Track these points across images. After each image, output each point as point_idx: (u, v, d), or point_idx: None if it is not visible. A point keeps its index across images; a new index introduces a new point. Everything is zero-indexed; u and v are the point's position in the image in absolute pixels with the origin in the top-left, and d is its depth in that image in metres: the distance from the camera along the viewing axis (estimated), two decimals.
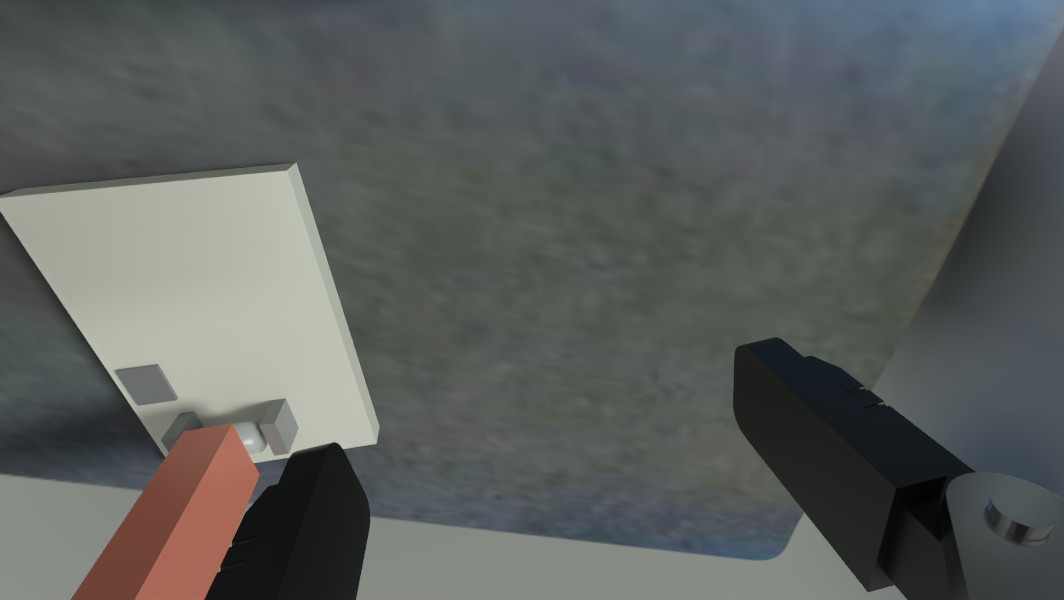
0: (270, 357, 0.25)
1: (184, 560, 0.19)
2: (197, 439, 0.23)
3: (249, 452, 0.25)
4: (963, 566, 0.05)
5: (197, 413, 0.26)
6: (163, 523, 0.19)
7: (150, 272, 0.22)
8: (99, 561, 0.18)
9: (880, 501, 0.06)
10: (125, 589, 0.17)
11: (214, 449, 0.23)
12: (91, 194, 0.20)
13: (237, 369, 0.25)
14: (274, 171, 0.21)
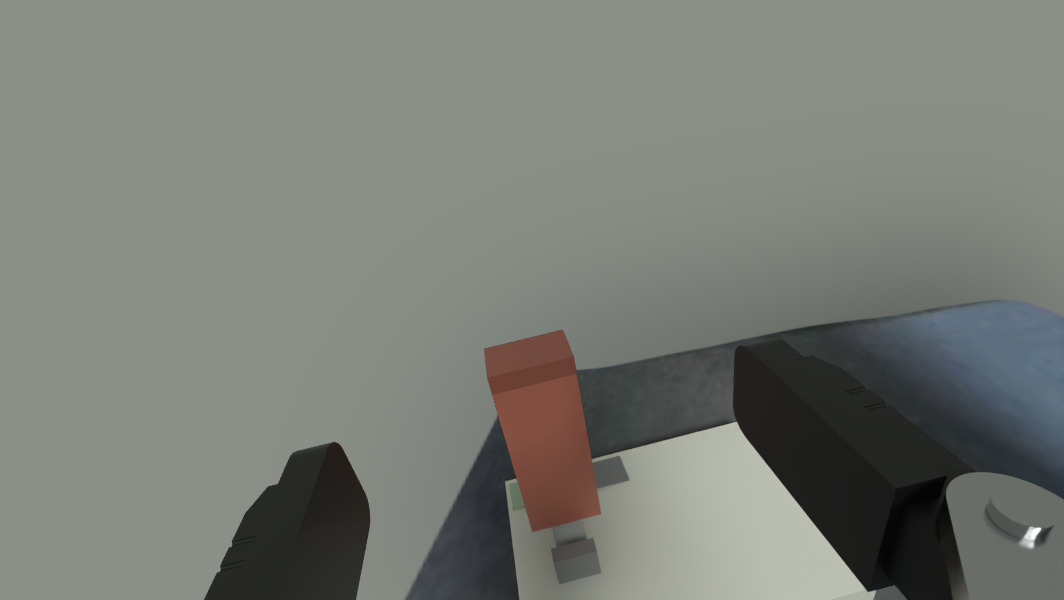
0: (653, 561, 0.26)
1: (557, 437, 0.23)
2: None
3: (561, 525, 0.26)
4: (963, 566, 0.05)
5: None
6: None
7: (718, 484, 0.29)
8: None
9: (880, 501, 0.06)
10: None
11: (596, 491, 0.25)
12: None
13: (633, 533, 0.27)
14: None
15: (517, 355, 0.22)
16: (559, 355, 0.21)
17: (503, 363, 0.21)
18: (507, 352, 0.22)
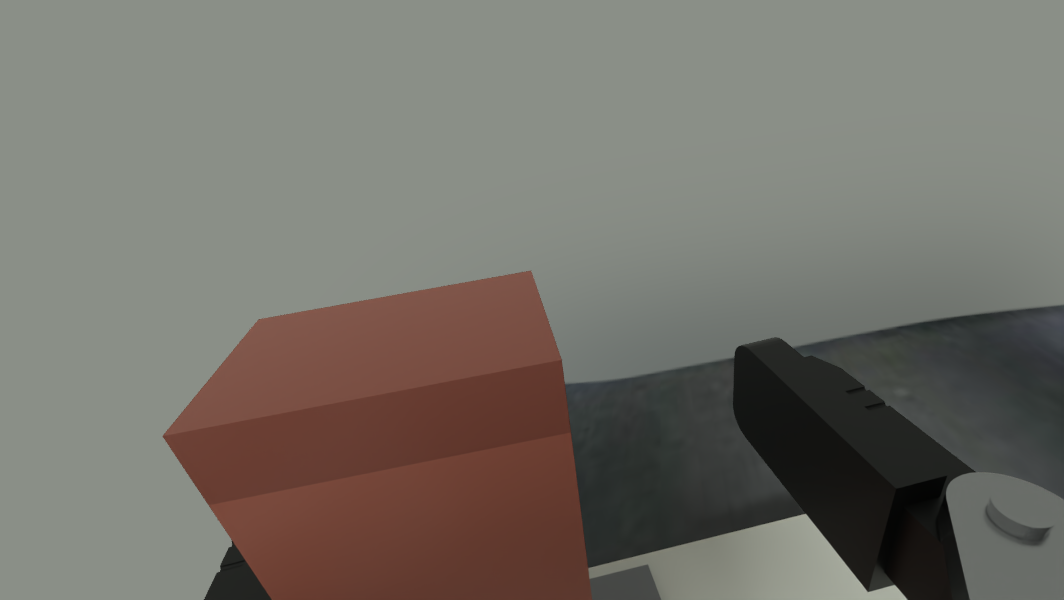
0: None
1: None
2: None
3: None
4: (963, 566, 0.05)
5: None
6: None
7: None
8: None
9: (880, 501, 0.06)
10: None
11: None
12: None
13: None
14: None
15: (345, 345, 0.06)
16: (503, 352, 0.05)
17: (275, 374, 0.05)
18: (320, 333, 0.06)
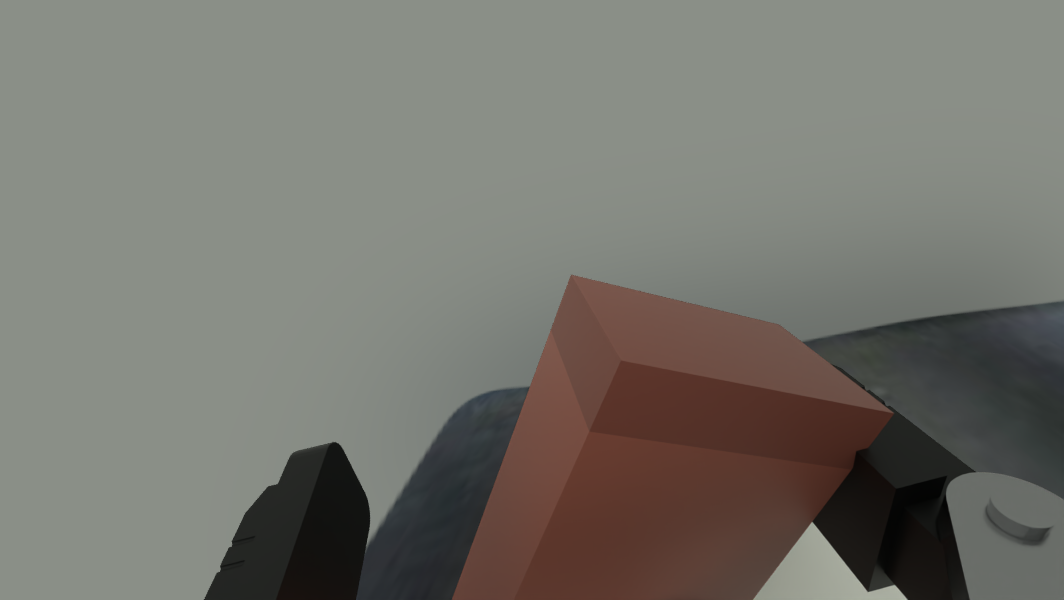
0: None
1: None
2: None
3: None
4: (963, 566, 0.05)
5: None
6: None
7: None
8: None
9: (880, 501, 0.06)
10: None
11: None
12: None
13: None
14: None
15: (693, 333, 0.06)
16: (840, 391, 0.06)
17: (659, 338, 0.06)
18: (652, 313, 0.07)
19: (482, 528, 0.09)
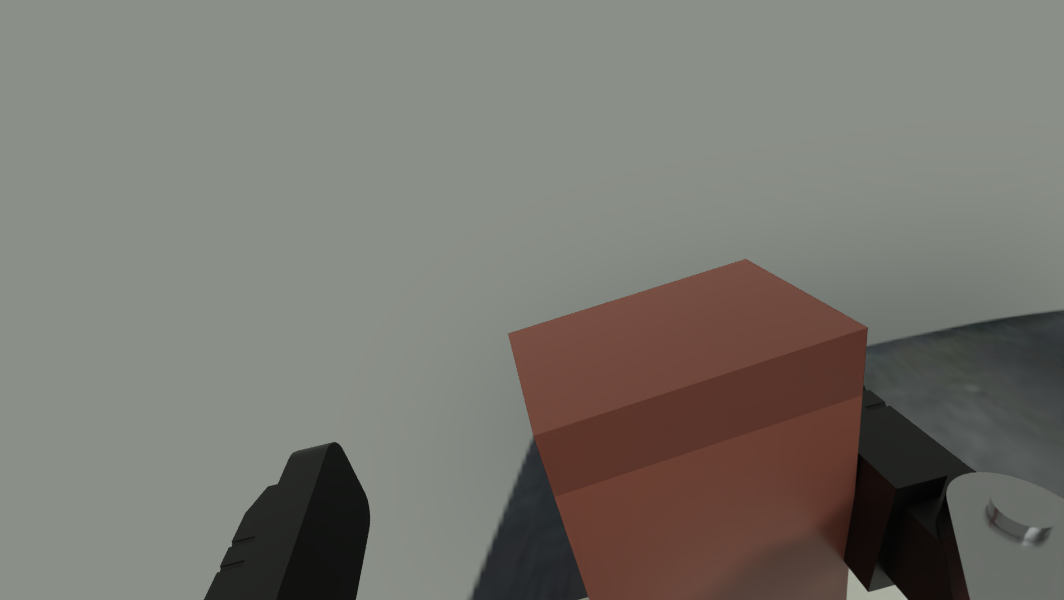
0: None
1: None
2: None
3: None
4: (963, 566, 0.05)
5: None
6: None
7: None
8: None
9: (880, 501, 0.06)
10: None
11: None
12: None
13: None
14: None
15: (628, 343, 0.06)
16: (800, 329, 0.06)
17: (585, 374, 0.06)
18: (588, 337, 0.07)
19: None
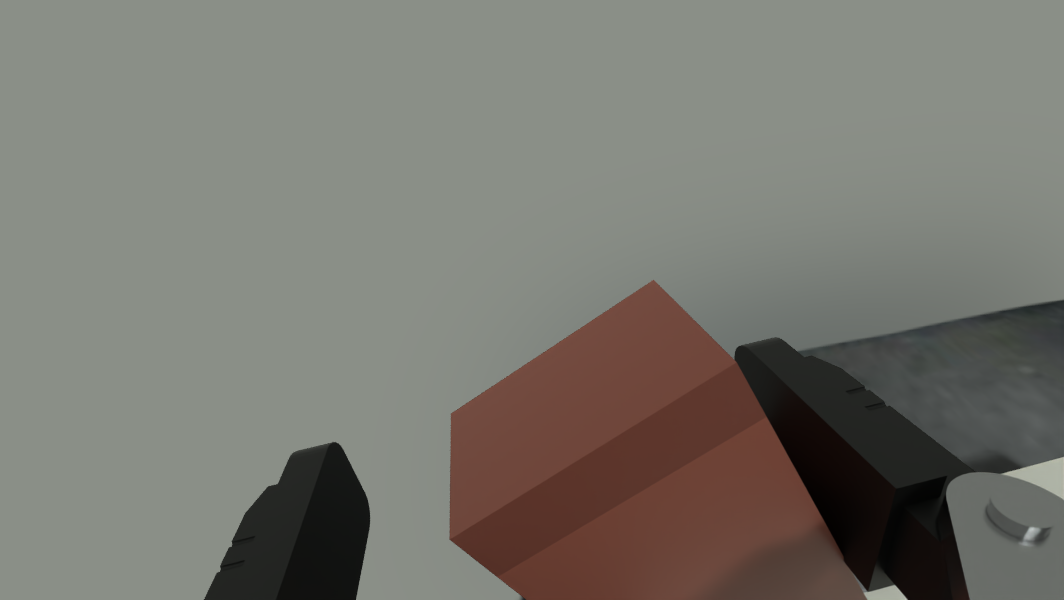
0: None
1: None
2: None
3: None
4: (963, 566, 0.05)
5: None
6: None
7: None
8: None
9: (880, 501, 0.06)
10: None
11: None
12: None
13: None
14: None
15: (537, 413, 0.06)
16: (678, 373, 0.06)
17: (498, 458, 0.06)
18: (509, 409, 0.07)
19: None
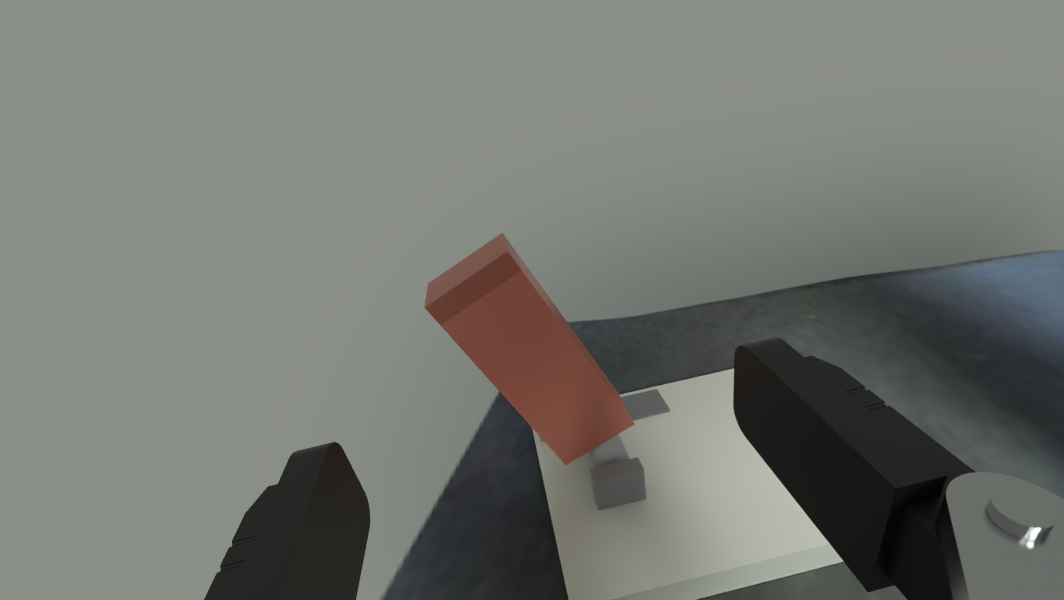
0: (705, 487, 0.22)
1: (538, 351, 0.20)
2: (618, 396, 0.23)
3: (595, 449, 0.23)
4: (963, 566, 0.05)
5: None
6: (574, 339, 0.21)
7: None
8: (552, 302, 0.22)
9: (880, 501, 0.06)
10: (542, 296, 0.19)
11: (617, 400, 0.22)
12: None
13: (679, 460, 0.24)
14: None
15: (455, 275, 0.19)
16: (494, 256, 0.18)
17: (441, 288, 0.19)
18: (447, 277, 0.20)
19: None
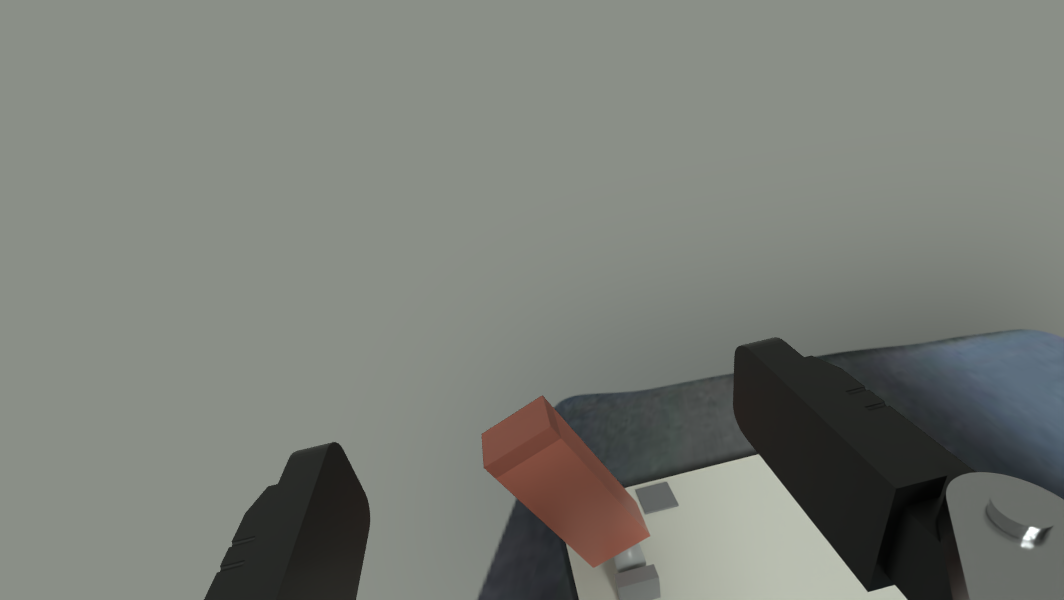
0: (709, 586, 0.27)
1: (573, 491, 0.25)
2: (636, 509, 0.28)
3: (618, 555, 0.28)
4: (963, 566, 0.05)
5: None
6: (601, 476, 0.25)
7: (766, 511, 0.31)
8: (581, 441, 0.26)
9: (880, 501, 0.06)
10: (576, 449, 0.24)
11: (636, 518, 0.27)
12: None
13: (687, 558, 0.29)
14: None
15: (506, 435, 0.24)
16: (539, 427, 0.23)
17: (496, 448, 0.23)
18: (499, 434, 0.24)
19: None
